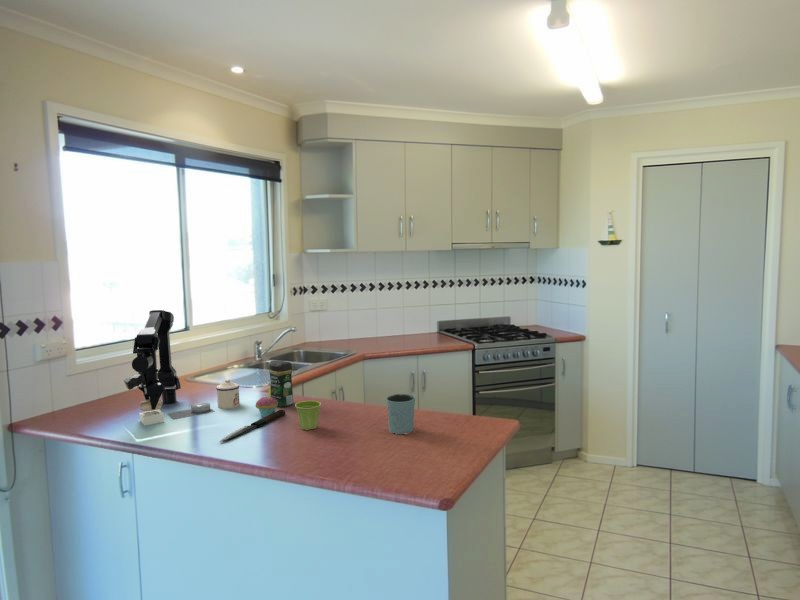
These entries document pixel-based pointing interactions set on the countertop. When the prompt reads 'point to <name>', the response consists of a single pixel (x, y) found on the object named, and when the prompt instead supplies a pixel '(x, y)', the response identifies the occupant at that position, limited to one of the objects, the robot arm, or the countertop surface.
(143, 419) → the open white box
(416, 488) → the countertop surface
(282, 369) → the coffee jar
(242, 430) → the kitchen knife
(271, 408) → the cupcake
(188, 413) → the mat
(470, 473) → the countertop surface
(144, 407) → the cork lid
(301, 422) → the plant pot
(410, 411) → the blue cup
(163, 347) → the robot arm
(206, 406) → the grey puck
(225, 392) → the teacup with lid
